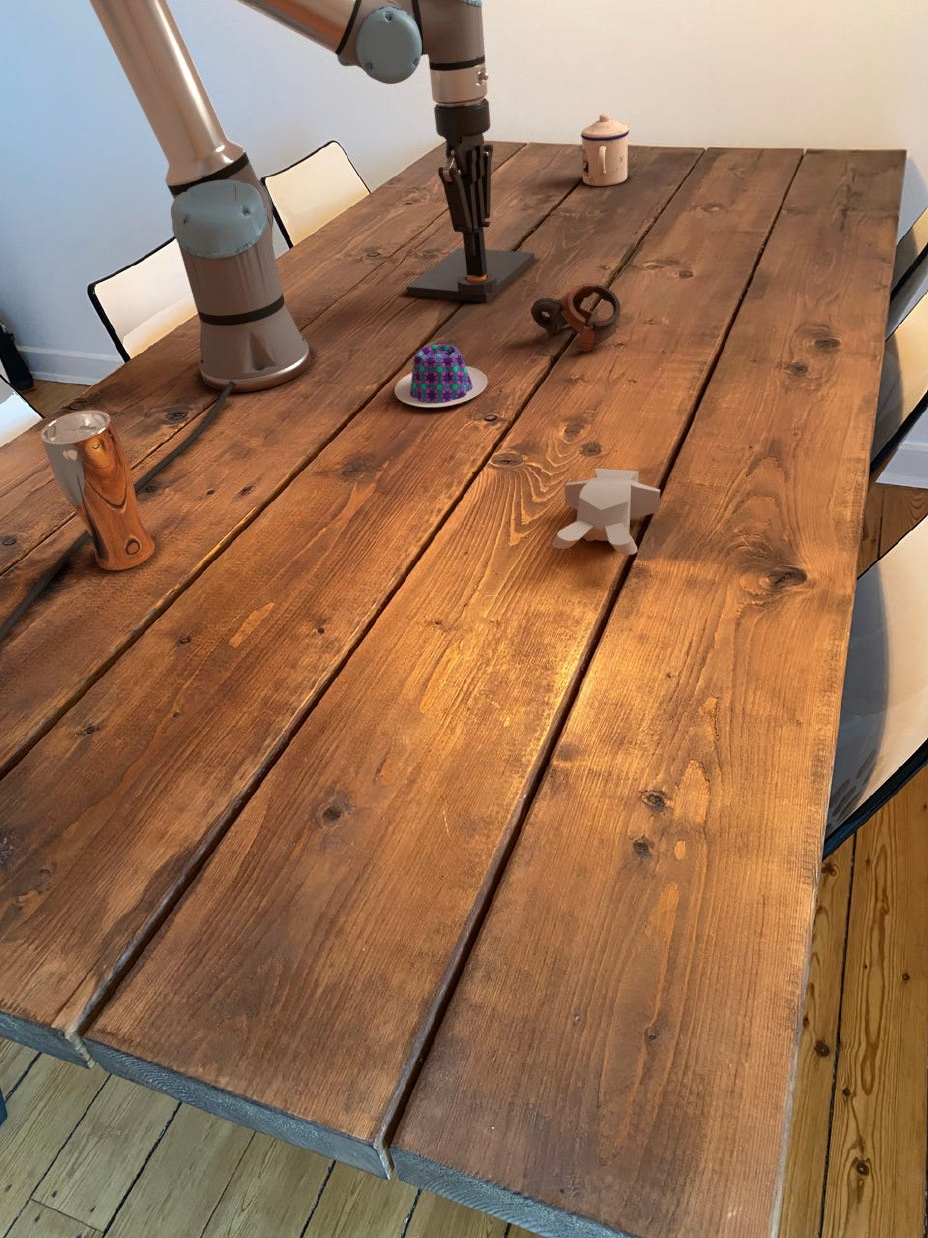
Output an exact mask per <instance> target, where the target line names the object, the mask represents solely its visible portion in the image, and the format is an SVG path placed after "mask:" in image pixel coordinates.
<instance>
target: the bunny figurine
mask: <svg viewBox="0 0 928 1238" xmlns="http://www.w3.org/2000/svg"><path fill="white" fill-rule="evenodd" d="M594 470H595V472H594V473H595V474H594V475H595V476H594V477H593V478H589V479H584V480H577V481H569V482H567V483H565V485H564V505H566V506H567V507H570V508H572V509H573V510H576V511H577V513H576V520H575V521H574V522H572V523H571V524H569V525H567V526H565V527H564V528H561V529H560V530H558V532H556V535H555V537H554V539H553V541H552V543H551V545H552V547H553V548H555V549H559V550H564V549H568V548H571V547H572V546H574V545H575V544H576V543H578V541H579V540H581V539H585V541H587V542H594V541H601V542H602V541H603V542H605V541H606V542H608V543H609V544H610V545H611V546H612V547H613V549H614V550H615V552H616V553H618V554H620V555H625V556H629V555H630V556H631V555H635V554H637V553H638V547H637V544H636V543H635V540H634V538H633V537H632V535H631V533H630V529H631V527H630V526H631V525H630V524H631V520H633V519H637V518H640V517H644V516H648V515H652V514H656V513H659V512H660V498H661V489H659V488H656V487H653V486H649V485H647V484H643V483H641V482H639V477H640V476H639V475H640V473H639V471H638V470H627V469H626V470H624V469H611V468H595V469H594Z"/></svg>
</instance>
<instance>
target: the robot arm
mask: <svg viewBox="0 0 928 1238" xmlns="http://www.w3.org/2000/svg"><path fill="white" fill-rule="evenodd" d="M235 1H236V2H238V3H240V4H242V5H244V6H246V7H248V8H249V9H252V11H255V12H256V13H259V14H261V15H263V16H264V17H266V18H268V19H270V20H272V21H274V22H275V23H277V24H279V25H281V26H283V27H284V28H287V29H289V30H291V31H293V32H294V33H296V34H298V35H300V36H302V37H303V38H305V39H307V40H309V41H311V42H313V43H315V44H317V45H318V46H320V47H322V48H323V49H325V50H327V51H329V52H331V53H333V54H335V55H336V58H337V61H338V63H339V64H340V65H341V66H342V67H354V66H355V67H358V68H360V69H362V70H363V71H364V72H365V73H366V75H367V76H368V77H369V78H372V79H373V80H375V81H377V82H379V83H382V84H387V85H396V84H399V83H402V82H404V81H406V80H407V79H409V78H410V77H411V76H412V75H413V74H414V73H415V71H416V69H417V68H418V66H419V65H420V62H421V58H422V56H425V55H427V57H428V66H429V75H430V84H431V85H430V86H431V96H432V101H434V102H435V103H436V104H435V106H434V107H433V113H434V120H435V121H434V122H435V130H436V133H437V135H438V136H439V137H441V138H443V139H444V140H445V141H446V142H445V143H446V144H445V157H446V163H445V166H439V167H438V170H437V174H438V177H439V179H440V181H441V183H442V184H443V190H444V195H445V198H446V203H447V207H448V211H449V216H450V221H451V224H452V230H453V232H455V233H462V239H463V248H464V250H465V260H466V270H467V275H471V276H484V275H485V274H487V264H486V253H485V249H486V242H485V231H484V228H489V227H490V225H491V221H488V220H489V219H490V218H491V204H492V203H491V202H492V201H491V200H492V198H491V196H492V194H491V193H492V160H493V154H494V145H493V144H490V143H485V137H484V134H485V133H486V132H488V131H489V130H490V128H491V114H490V113H491V111H490V102H489V100H488V99H487V98H486V96H487V95H488V94H489V93H488V91H489V90H488V79H489V73H488V72H487V68H486V67H487V66H486V55H485V54H486V52H485V51H486V50H485V41H484V40H485V37H484V36H485V35H484V23H483V8H482V7H483V2H482V0H235ZM89 2H90V4H91V6H92V7H91V8H92V9H93V11H94V14H95V15H96V17H97V20H98V21H99V23H100V25H101V27H102V29H103V31H104V33H105V35H106V37H107V40H108V42H109V44H110V46H111V48H112V50H113V52H114V54H115V56H116V58H117V60H118V62H119V65H120V66H121V68H122V70H123V72H124V74H125V76H126V78H127V80H128V83H129V84H130V85H129V86H131V89H132V91H133V92H134V95H135V97H136V99H137V101H138V103H139V105H140V107H141V110H142V111H143V113H144V115H145V117H146V119H147V122H148V123H149V126H150V127H151V130H152V132H153V134H154V136H155V138H156V140H157V142H158V144H159V146H160V148H161V150H162V152H163V155H164V156H165V159H166V161H167V162H168V169H167V171H166V176H165V180H164V181H165V184H166V186H167V187H168V190H169V192H170V193H171V196H172V198H173V202H172V203H171V207H170V218H171V229H172V233H173V237H175V240H176V243H177V244H178V247H179V251H180V255H181V259H182V262H183V265H184V270H185V273H186V276H187V280H188V283H189V287H190V290H191V292H192V293H191V294H192V298H193V301H194V304H195V308H196V311H197V314H198V318H199V323H200V334H199V335H200V336H199V337H200V339H199V340H200V341H199V342H200V343H199V348H200V349H199V350H200V351H199V352H200V356H199V359H198V360H199V361H198V362H199V363H198V366H199V371H200V374H201V377H202V381H203V383H204V384H205V385H206V386H208V387H209V388H211V389H214V390H216V391H221V394H220V395H219V397H218V399H217V401H216V402H215V404H214V405H213V407H212V408H211V410H210V411H209V412H208V414H207V415H206V417H205V418H204V419H203V420H202V421H201V423H200V424H199V425H198V427H196V429H194V431H193V432H192V433H191V434H190V435H189V436H188V437H187V438H186V439H185V440H183V442H182V443H180V444H179V445H178V446H177V447H176V448H174V449H173V450H172V451H171V452H170V453H169V454H167V455H166V456H165V457H164V458H162V459H161V460H160V461H159V462H158V463H157V464H155V465H154V466H153V467H152V468H151V469H150V470H149V471H147V472H146V473H145V474H144V475H143V476H142V477H141V478H139V479H138V480H137V482H135V483H134V489H135V494H136V493H137V492H139V491H140V490H141V489H142V488H143V487H144V486H145V485H146V484H147V483H149V482H150V481H151V480H152V479H153V477H155V476H156V475H157V474H159V473H160V472H161V471H162V470H163V469H164V468H165V467H167V465H169V464H170V463H171V462H172V461H174V460H175V459H176V458H177V457H178V456H179V455H180V454H182V453H183V452H184V451H185V450H186V449H187V448H189V447H190V446H191V445H192V444H193V443H194V442H195V441H196V440H197V439H198V438H199V436H201V434H202V433H203V432H204V431H205V430H206V429H207V427H208V426H209V425H210V424H211V422H212V421H213V420H214V418H215V416H216V415H217V413H218V412H219V411H220V410H221V408H222V406H223V405H224V403H225V402H226V399H227V398H228V396H229V394H230V393H245V392H255V391H260V390H266V389H270V388H273V387H276V386H280V385H282V384H284V383H286V382H289V381H291V380H293V379H295V378H296V377H298V376H300V375H301V374H302V373H303V372H304V371H305V370H306V369H307V368H308V367H309V366H310V364H311V362H312V361H311V360H312V359H311V353H310V348H309V344H308V342H307V341H306V339H305V337H304V336H303V335H302V334H301V333H300V330H299V329H298V326H297V325H296V323H295V321H294V319H293V317H292V314H291V313H290V311H289V310H288V308H287V305H286V301H285V296H284V292H283V287H282V282H281V279H280V274H279V269H278V265H277V261H276V260H277V259H276V255H275V250H274V243H273V241H274V239H273V228H274V227H273V226H274V211H273V210H274V208H273V203H272V200H271V197H270V195H269V193H268V190H267V188H266V187H265V186H264V185H263V183H262V181H261V180H260V179H259V178H258V176H257V175H256V172H255V171H254V168H253V166H252V164H251V161H250V159H249V156H248V154H247V152H246V150H245V148H244V146H242V145H240V144H238V143H236V142H235V141H232V140H230V139H229V138H228V136H227V134H226V131H225V129H224V128H223V125H222V123H221V120H220V118H219V116H218V114H217V112H216V109H215V107H214V105H213V102H212V100H211V98H210V95H209V94H208V91H207V89H206V87H205V84H204V82H203V79H202V78H201V75H200V73H199V71H198V69H197V66H196V64H195V62H194V59H193V57H192V55H191V53H190V51H189V48H188V46H187V44H186V41H185V39H184V37H183V34H182V32H181V30H180V27H179V25H178V23H177V20H176V19H175V17H174V14H173V12H172V9H171V7H170V5H169V3H168V1H167V0H89ZM486 219H487V221H486ZM89 539H91V537H90V534H89V532H88V530H87V529H86V530H85V531H84V532H83V533H82V534H81V535H80V536H79V537H78V538H77V539H76V540H75V541H74V542H73V543H72V544H71V545H70V546H69V547H68V549H66V551H64V553H62V555H61V556H60V557H59V558H58V559H57V560H56V561H55V563H54V564H53V565H52V566H51V567H50V568H49V569H48V570H47V572H46V573H45V574H44V575H43V576H42V577H41V579H40V580H39V581H38V582H37V583H36V584H35V585H34V587H33V588H32V589H31V590H30V592H29V593H28V594H27V595H26V596H25V597H24V599H22V601H21V603H20V604H18V606H17V607H16V609H14V611H13V612H12V613H11V615H10V616H9V617H8V619H6V621H5V622H4V623H3V625H2V626H1V627H0V644H1V643H2V642H3V641H4V639H5V638H6V636H7V635H8V634H9V633H10V632H11V630H12V629H13V628H14V626H15V625H16V623H17V622H18V621H19V620H20V618H22V616H23V615H24V614H25V613H26V611H27V610H28V609H29V607H30V606H32V603H33V602H34V601H35V600H36V599H37V597H38V596H39V595H40V594H42V591H43V590H44V589H45V588H46V587H47V585H49V584H50V582H51V581H52V580H53V579H54V577H55V576H56V575H57V574H58V573H59V572H60V571H61V570H62V569H63V567H64V566H65V565H66V564H67V563H68V561H70V559H72V557H73V556H74V555H75V554H76V553H77V552H78V551H79V549H80V548H82V546H83V545H84V544H85V543H86V542H88V540H89Z"/></svg>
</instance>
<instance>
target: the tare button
mask: <svg viewBox="0 0 928 1238" xmlns="http://www.w3.org/2000/svg"><path fill="white" fill-rule="evenodd" d="M486 279H487V278H486V274H485V275H484V276H471V275H467V281H468V282H479V281H483V280H486Z"/></svg>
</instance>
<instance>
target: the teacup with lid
mask: <svg viewBox="0 0 928 1238" xmlns="http://www.w3.org/2000/svg"><path fill="white" fill-rule="evenodd" d="M598 119H599V120H596V121H594V122H593V123H591V125H588V126H587V127H584V128H583V129H582V130H581V133H580V137H581V145H582V149H581V150H582V182H583V183H584V184H586V185H587V186H593V187H608V186H615V185H618V184H621V183H624V182H625V181H626V180H627V179H628V151H629V150H628V143H629V142H628V141H629V140H628V139H629V137H628V136H629V133H630V130H629V128H628V126H627V125H626V124H623V123H620V122H618V121H616V120H615V119H611V115H610V113H602V114H600V115H599V118H598Z"/></svg>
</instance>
